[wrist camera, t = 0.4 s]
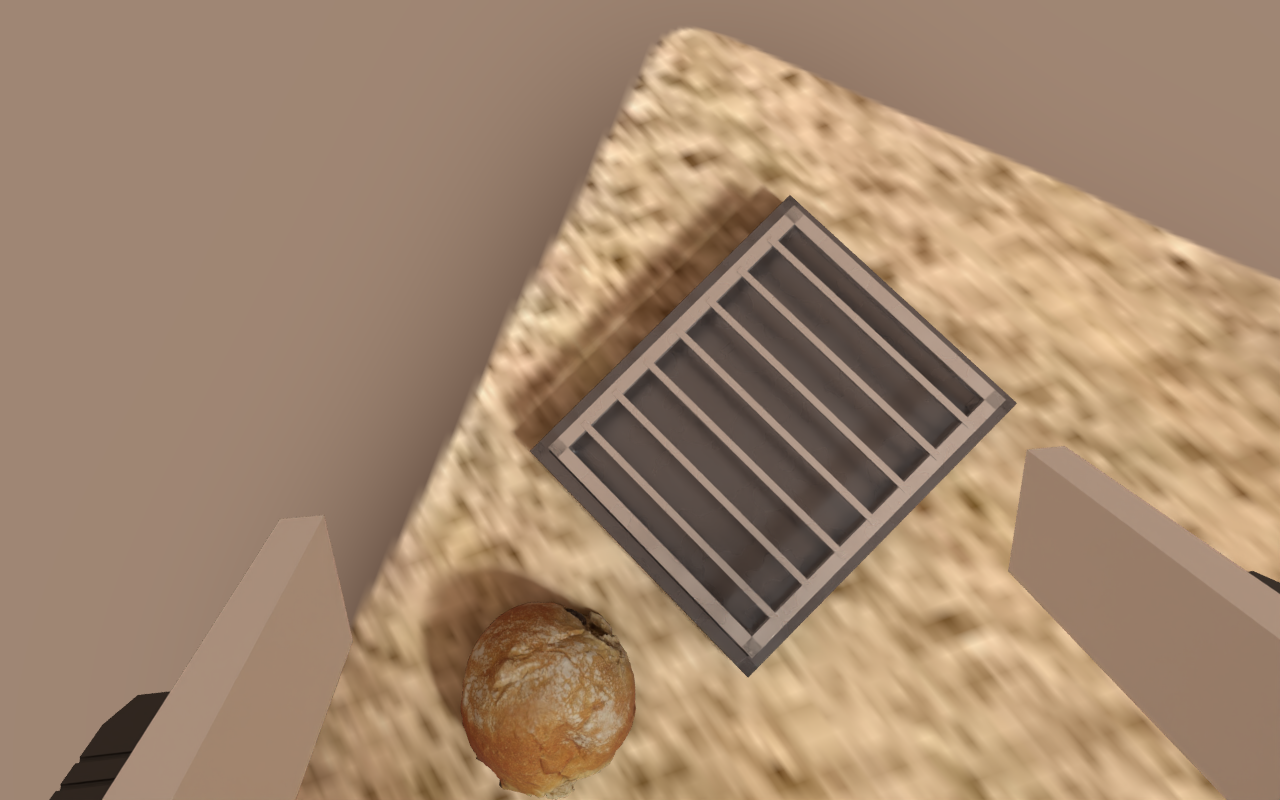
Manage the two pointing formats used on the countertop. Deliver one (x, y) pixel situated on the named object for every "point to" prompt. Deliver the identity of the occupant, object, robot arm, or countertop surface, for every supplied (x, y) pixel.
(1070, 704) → the countertop surface
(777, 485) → the cooling rack
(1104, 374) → the countertop surface
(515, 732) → the bread roll
